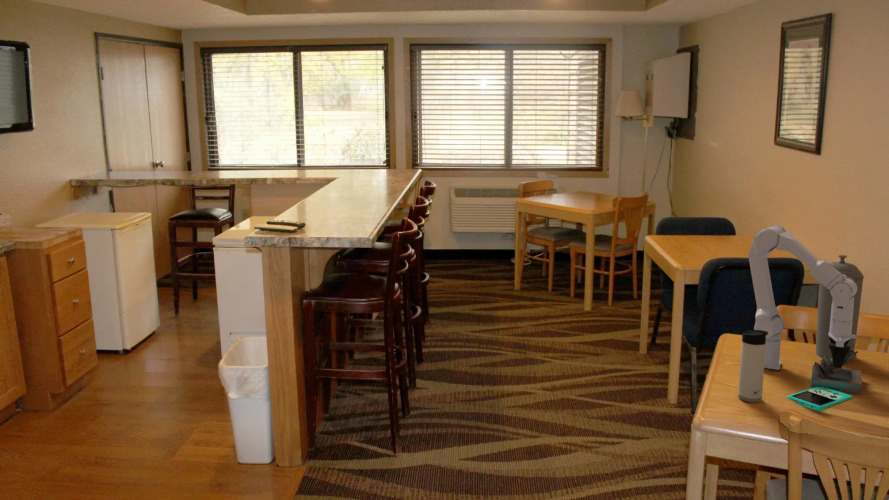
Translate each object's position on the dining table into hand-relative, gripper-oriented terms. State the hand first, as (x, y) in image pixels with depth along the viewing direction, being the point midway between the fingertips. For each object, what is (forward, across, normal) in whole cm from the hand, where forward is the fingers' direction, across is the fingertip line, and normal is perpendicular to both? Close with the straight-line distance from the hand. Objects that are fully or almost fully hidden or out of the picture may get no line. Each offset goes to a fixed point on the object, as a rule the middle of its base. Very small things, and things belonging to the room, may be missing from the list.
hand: (837, 363), depth 215 cm
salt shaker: (+2, -1, +5) cm, 5 cm away
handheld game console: (+7, -15, +4) cm, 17 cm away
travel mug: (+6, -24, +21) cm, 33 cm away
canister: (+6, +25, 0) cm, 26 cm away
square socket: (+6, 0, 0) cm, 6 cm away
